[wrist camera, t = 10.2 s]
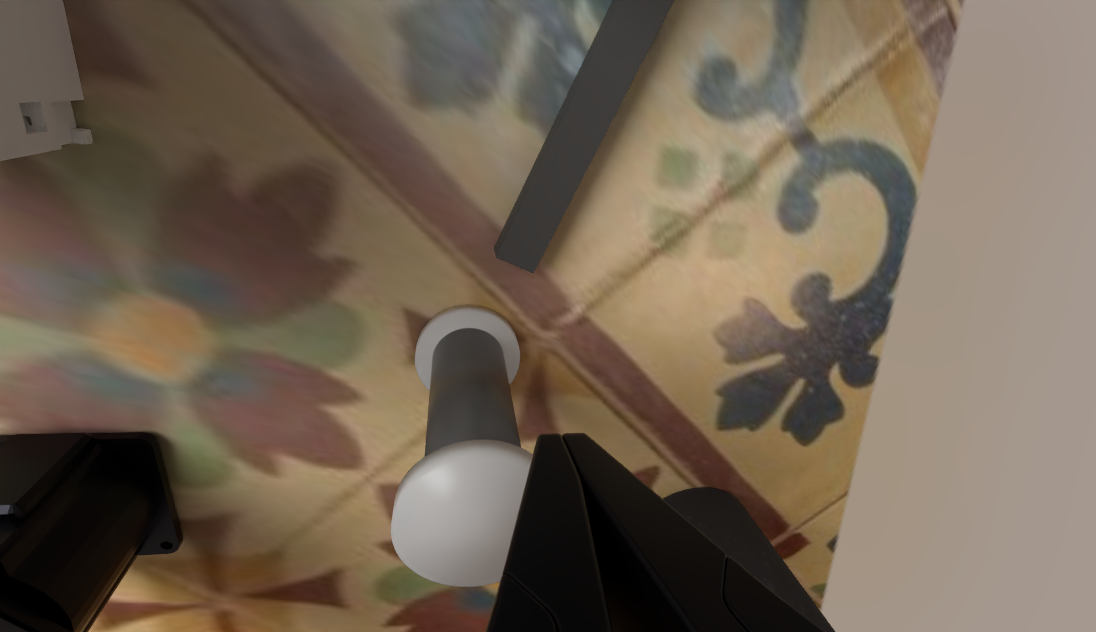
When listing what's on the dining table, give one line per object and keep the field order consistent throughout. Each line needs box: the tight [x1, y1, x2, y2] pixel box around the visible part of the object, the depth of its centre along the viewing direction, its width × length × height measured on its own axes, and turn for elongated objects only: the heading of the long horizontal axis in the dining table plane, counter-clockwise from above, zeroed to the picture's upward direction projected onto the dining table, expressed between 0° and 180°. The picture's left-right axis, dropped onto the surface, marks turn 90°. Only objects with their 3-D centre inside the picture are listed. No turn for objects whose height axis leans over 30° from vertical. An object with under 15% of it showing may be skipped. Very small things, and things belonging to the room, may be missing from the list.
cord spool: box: [391, 305, 533, 587], centre depth 18 cm, size 4×4×10 cm
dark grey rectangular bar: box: [494, 0, 674, 273], centre depth 19 cm, size 12×2×2 cm, turn 152°
